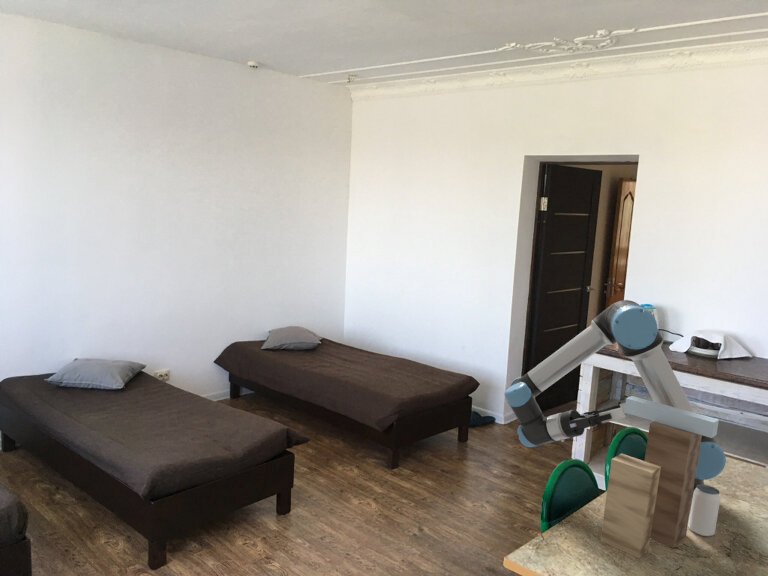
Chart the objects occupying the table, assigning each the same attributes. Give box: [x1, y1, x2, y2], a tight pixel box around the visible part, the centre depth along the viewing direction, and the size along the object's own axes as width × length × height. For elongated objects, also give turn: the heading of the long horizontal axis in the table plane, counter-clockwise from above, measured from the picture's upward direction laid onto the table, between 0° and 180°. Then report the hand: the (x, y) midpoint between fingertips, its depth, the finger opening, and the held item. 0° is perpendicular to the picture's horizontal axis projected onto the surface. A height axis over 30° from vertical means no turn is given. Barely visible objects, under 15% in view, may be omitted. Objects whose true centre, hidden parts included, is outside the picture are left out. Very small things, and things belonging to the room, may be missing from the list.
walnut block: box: [644, 421, 702, 549], centre depth 163 cm, size 10×10×30 cm
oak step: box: [600, 453, 661, 559], centre depth 156 cm, size 6×10×22 cm, turn 47°
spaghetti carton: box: [624, 395, 720, 438], centre depth 162 cm, size 22×4×4 cm, turn 47°
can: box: [687, 484, 721, 538], centre depth 168 cm, size 6×6×12 cm
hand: (633, 407), depth 168 cm, fingers open, 13 cm apart
